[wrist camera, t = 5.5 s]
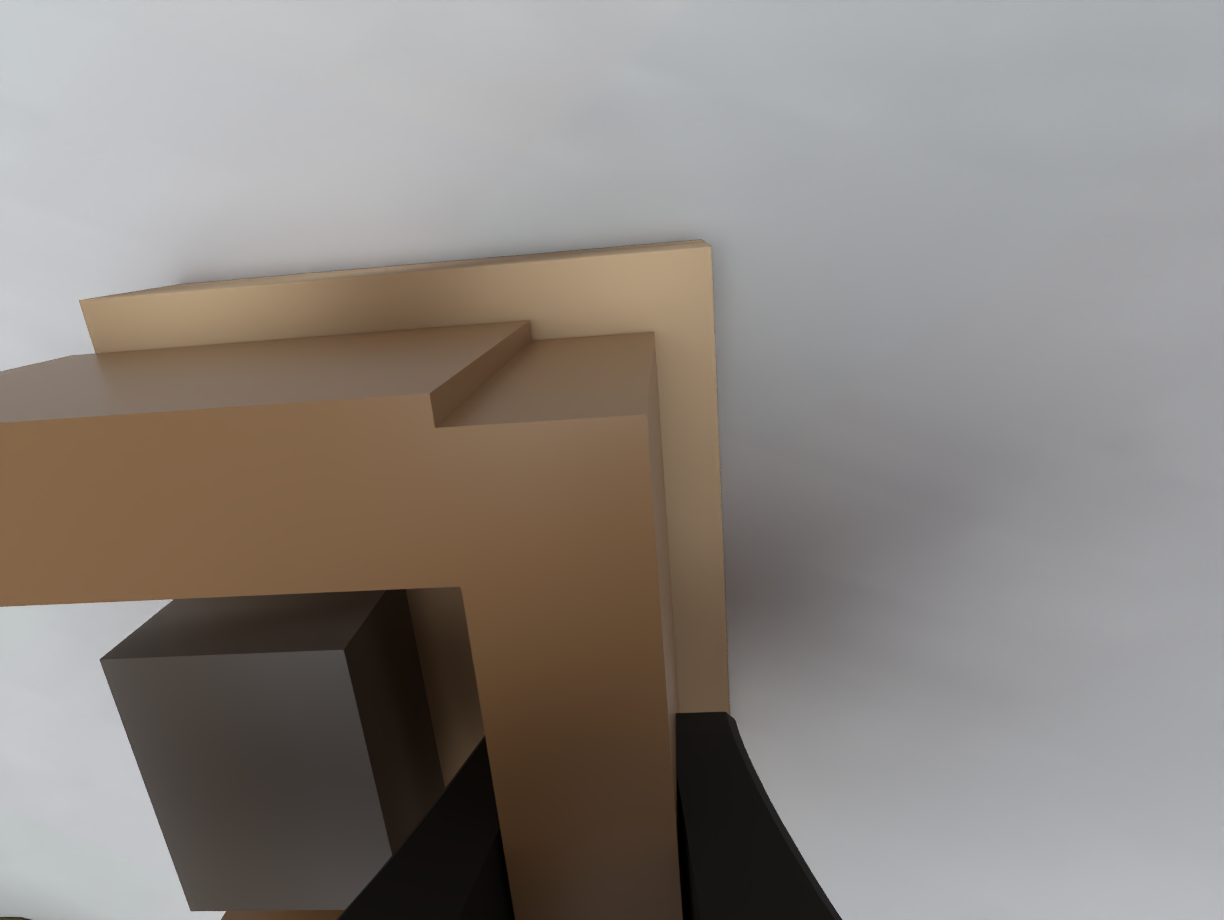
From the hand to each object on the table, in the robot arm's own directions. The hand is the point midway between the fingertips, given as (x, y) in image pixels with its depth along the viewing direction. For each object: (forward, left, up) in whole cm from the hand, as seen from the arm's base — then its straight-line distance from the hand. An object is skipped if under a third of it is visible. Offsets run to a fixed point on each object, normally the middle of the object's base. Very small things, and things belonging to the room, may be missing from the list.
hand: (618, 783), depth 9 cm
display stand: (+3, 0, -4) cm, 5 cm away
